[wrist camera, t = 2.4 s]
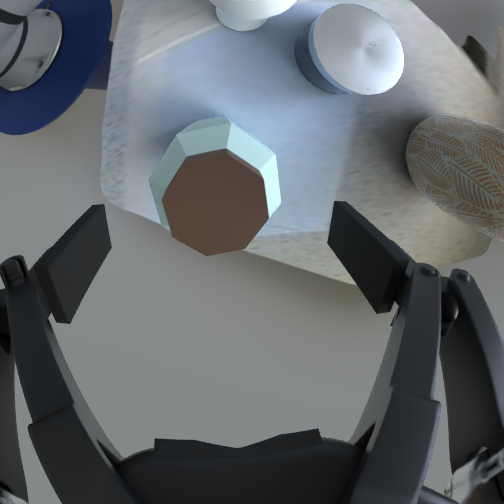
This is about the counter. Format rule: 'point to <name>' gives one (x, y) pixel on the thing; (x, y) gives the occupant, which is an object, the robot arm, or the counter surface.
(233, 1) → the cup
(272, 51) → the counter surface
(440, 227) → the counter surface
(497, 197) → the vase
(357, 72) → the navy round container
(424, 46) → the counter surface
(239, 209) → the water bottle
